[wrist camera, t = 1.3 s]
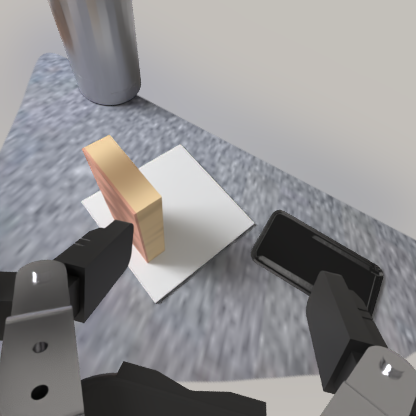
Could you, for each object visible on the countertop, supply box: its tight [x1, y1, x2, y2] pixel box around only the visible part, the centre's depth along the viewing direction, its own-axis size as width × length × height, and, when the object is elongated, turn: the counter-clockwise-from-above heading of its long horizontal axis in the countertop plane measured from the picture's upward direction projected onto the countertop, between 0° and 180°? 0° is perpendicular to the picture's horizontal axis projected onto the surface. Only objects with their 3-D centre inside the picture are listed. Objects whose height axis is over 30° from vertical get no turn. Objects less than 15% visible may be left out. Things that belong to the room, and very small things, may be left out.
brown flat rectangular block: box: [82, 135, 165, 263], centre depth 27 cm, size 7×2×13 cm, turn 40°
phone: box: [251, 210, 383, 317], centre depth 34 cm, size 8×1×15 cm
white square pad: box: [81, 144, 254, 303], centre depth 35 cm, size 15×15×1 cm
